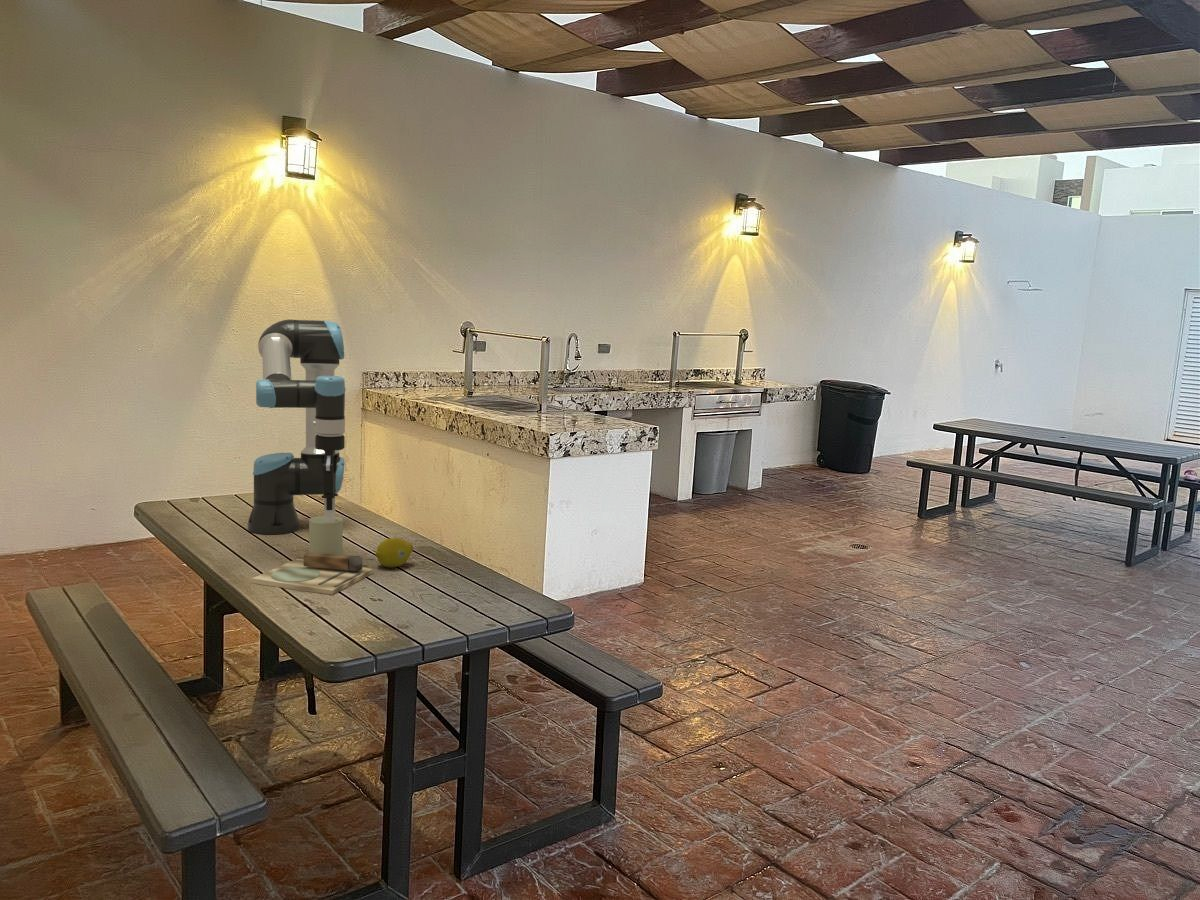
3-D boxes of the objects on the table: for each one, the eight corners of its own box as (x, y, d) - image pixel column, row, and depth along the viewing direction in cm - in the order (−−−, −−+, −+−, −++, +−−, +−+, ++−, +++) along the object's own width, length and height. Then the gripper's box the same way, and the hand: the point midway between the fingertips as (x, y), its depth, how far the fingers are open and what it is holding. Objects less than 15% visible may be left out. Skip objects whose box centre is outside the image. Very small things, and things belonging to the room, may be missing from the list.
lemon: (378, 572, 247) (378, 543, 246) (370, 564, 254) (371, 536, 252) (417, 568, 252) (418, 540, 251) (408, 560, 259) (409, 533, 258)
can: (333, 565, 251) (333, 523, 249) (302, 562, 253) (302, 519, 251) (348, 556, 260) (349, 515, 258) (318, 553, 262) (319, 512, 260)
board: (297, 562, 252) (297, 557, 251) (372, 573, 246) (373, 567, 246) (251, 583, 233) (251, 576, 232) (332, 595, 227) (332, 588, 227)
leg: (364, 567, 244) (364, 556, 244) (359, 571, 241) (359, 560, 240) (308, 562, 245) (308, 551, 245) (303, 566, 242) (303, 555, 241)
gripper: (317, 430, 249) (317, 515, 253) (312, 437, 237) (312, 526, 240) (346, 431, 251) (345, 515, 254) (342, 438, 238) (342, 526, 242)
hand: (329, 520), depth 247 cm, fingers closed
